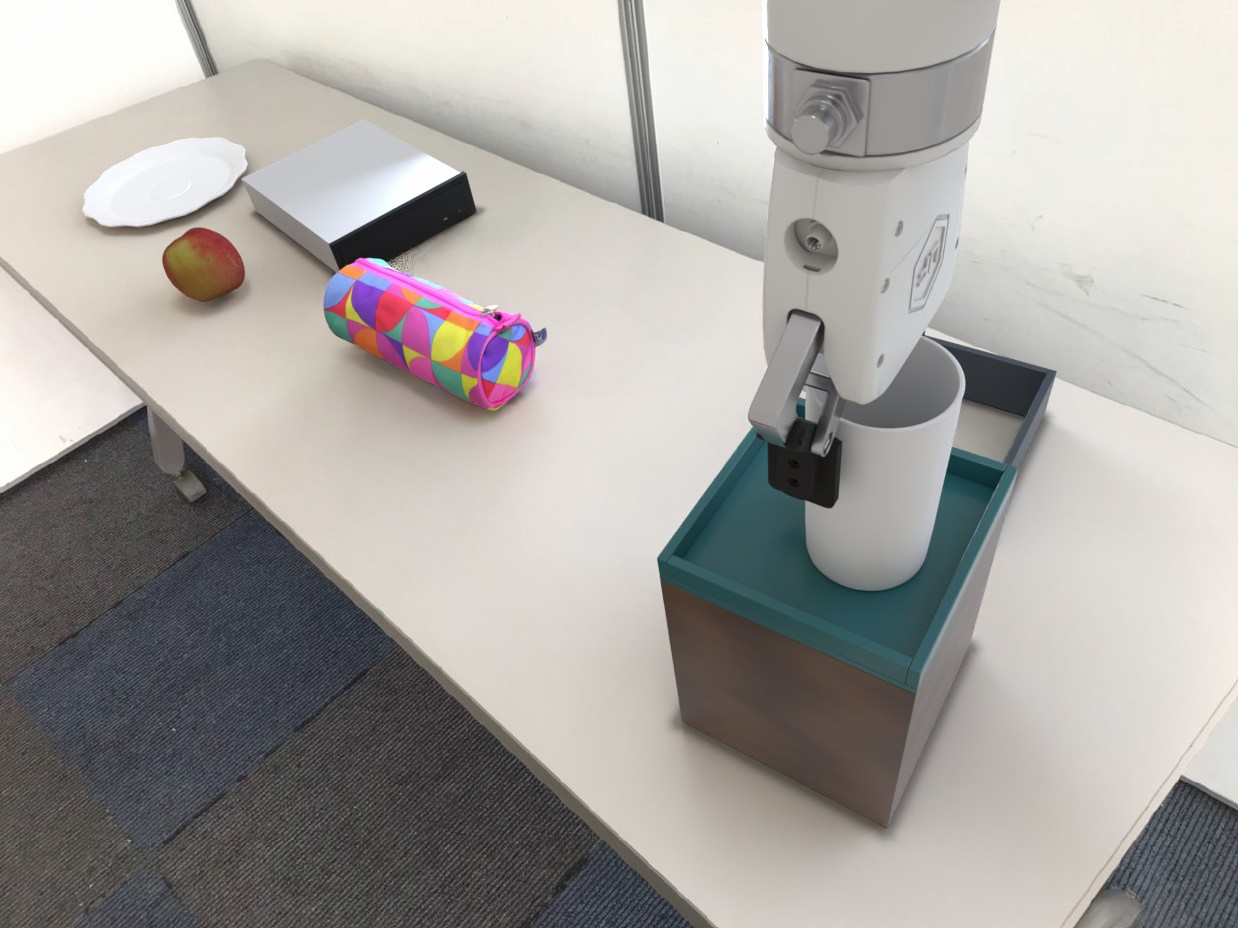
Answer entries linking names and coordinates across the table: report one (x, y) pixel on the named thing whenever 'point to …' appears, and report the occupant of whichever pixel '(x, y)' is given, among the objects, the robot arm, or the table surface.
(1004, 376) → the dark gray square frame
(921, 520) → the mug
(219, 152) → the plate
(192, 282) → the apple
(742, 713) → the riser
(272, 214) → the disc drive
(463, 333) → the pencil case
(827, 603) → the tray
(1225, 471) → the table surface
